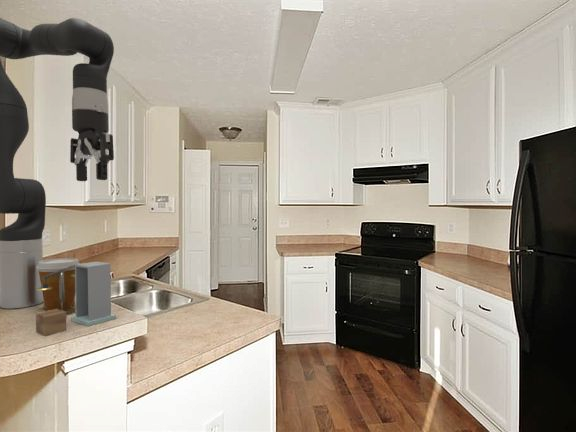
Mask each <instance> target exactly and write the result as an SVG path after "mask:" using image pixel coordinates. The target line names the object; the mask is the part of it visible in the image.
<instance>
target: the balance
mask: <svg viewBox="0 0 576 432" xmlns="http://www.w3.org/2000/svg"><path fill="white" fill-rule="evenodd" d="M72 268H75V264H74V265H72V266H69V267H67V268H64V269H62V270H59V271H57V272H54V273H51V274H49V275H46V276H44V277H43V279H44V284H41V287H40V288H37V289H36V290H37V291H45V290H50V289H52V287H48V284H47V283H45V279H48V278H50V277H52V276H55V275H57V274H59V294H60V308H56V309H59V310H62V311H65V312H66V316H67V315H73V314H76V307H68V306H65V300H64V272H65V271H67V270H70V269H72ZM71 276H72V277H75V274H71ZM52 310H54V309H52Z"/></svg>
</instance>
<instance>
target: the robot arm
mask: <svg viewBox="0 0 576 432" xmlns="http://www.w3.org/2000/svg"><path fill="white" fill-rule="evenodd" d="M114 52H115V47H114V42H113V40H112V37H111V36H110V34H108V33H107V32H105V31H104V30H102V29H101V28H99V27H97V26H95V25H93V24H91V23H90V22H88V21H85V20H83V19H80V18H74V17H72V18H68V19H65V20H63V21H61V22H59V23H40V24H37V25H35V26H33V27H32V29H31V30H28V29H26V28H22V27H20V26H18V25H17V24H15V23H13V22H11V21H8V20H6V19H3V18H2V17H0V57H2V58H5V59H9V60H22V59H26V58H32V57H37V56H42V55H43V56H45V55H47V56H64V57H66V56H67V57H68V56H70V57H71V56H74V55H77V54H80V55H81V54H82V55H84V56H85V57H87V58H88V60H89V61H88V62H87V63H84V62H83V63H82V62H81V63H77V64H74V66H73V68H72V94H71V122H72V123H71V125H72V127H71V128H72V130H73V131H75V132H77V133H78V138H74V137H72V138H70V149H69V150H70V153H69V154H70V155H69V157H70V159H69V160H70V161H69V163H71V164H74V165H75V169H76V170H75V171H76V177H75V178H76V179H75V180H76V181H77V182H86V181H88V162H89V160H91V159H92V157H94V159H95V162H96V163H95V167H96V168H95V170H96V171H95V173H96V174H95V175H96V180H98V181H107V180H108V164H110V161H114V159H115V155H114V154H115V153H114V135H113V134H112V133H111V134H110V133H109V130H110V129H109V126H110V125H109V123H110V122H109V101H108V85H107V83H108V81H107V79H108V73H109V72H110V67H111V64H112V60H113V57H114ZM29 129H30V125H29V114H28V107H27V104H26V101H25V99H24V98H23V96H22V95H21V93H20V92H19V90H18V88H17V87H16V85H14V83H13V82H12V80H11V78H10V77H9V76H8V73H7V72H6V70H5V68H4V67H3V64H2V59H0V214H3V215H5V214H7V215H8V214H9V215H10V214H11V215H12V214H17V218H16V220H15V221H14V222H12V223H11V224H9V225H8V226H5V227H2V228H0V308H2V309H22V308H28V307H32V306H33V307H34V306H36V305H40V304H42V303H44V299H43V293H42V291H37V290H36V289H37V288H40V287H41V281H40V275H39V271H38V269H37V268H36V267H37V266H38V263H39V262H40V261H43V259H44V257H43V254H44V253H43V252H44V251H43V233H44V232H43V231H44V229H45V225H46V207H47V206H46V203H47V201H46V199H47V197H46V196H47V195H46V191H45V187H44V185H43V184H42V183H41V182H40V181H39V180H37V179H33V178H22V177H20V178H19V177H15V176H14V174H15V173H14V160H15V156H16V153H17V152H18V150H19V148H20V147H21V145H22V144H23V142H25V141H24V140H25V139H26V137H27V135H28V133H29Z"/></svg>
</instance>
